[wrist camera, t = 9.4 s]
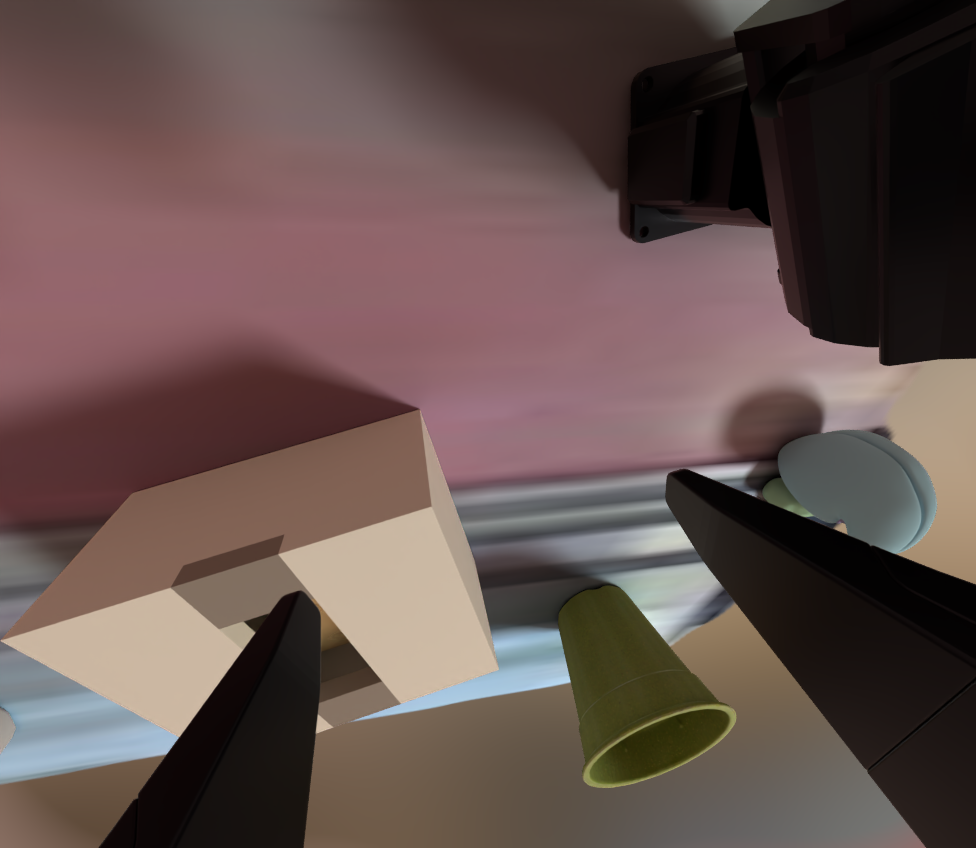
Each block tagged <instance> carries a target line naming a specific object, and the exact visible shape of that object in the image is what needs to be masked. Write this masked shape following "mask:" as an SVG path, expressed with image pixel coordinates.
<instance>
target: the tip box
mask: <svg viewBox="0 0 976 848" xmlns="http://www.w3.org/2000/svg"><path fill="white" fill-rule="evenodd" d="M298 590H302V591H304V592H305V593H306V594H307V595H308V596H309V598H310V599H311V600H312V599H315V600H316V601H317V602H318V604H319V605H320V606H321V607H322V608H323V610H324V611H325V612H326V613H327V615H328V616H329V617H330V618H331V619H332V621H333V622H334V623H335V624H336V625H337V627H338V628H339V629H340V630H341V632H342V633H343V634H344V635H345V636H346V638H347V639H348V640H349V641H350V643H347V644H344V645H341V646H338V647H335V648H332V649H328V650H325V651H321V686H320V699H319V709H318V718H317V727H316V733H318V732H321V731H324V730H327V729H330V728H333V727H336V726H338V725H341V724H344V723H347V722H350V721H353V720H356V719H359V718H361V717H364V716H367V715H370V714H373V713H376V712H379V711H382V710H384V709H387V708H390V707H393V706H396V705H399V704H402V703H405V702H407V701H410V700H413V699H416V698H419V697H422V696H425V695H428V694H430V693H433V692H436V691H439V690H442V689H445V688H448V687H451V686H453V685H456V684H459V683H462V682H465V681H468V680H471V679H474V678H476V677H479V676H482V675H485V674H488V673H491V672H494V671H497V670H499V668H498V663H497V659H496V654H495V650H494V645H493V641H492V636H491V632H490V627H489V623H488V618H487V614H486V609H485V605H484V600H483V596H482V592H481V587H480V583H479V578H478V574H477V569H476V565H475V560H474V557H473V555H472V552H471V549H470V546H469V544H468V541H467V538H466V535H465V533H464V530H463V527H462V524H461V522H460V519H459V516H458V513H457V511H456V508H455V505H454V502H453V500H452V497H451V494H450V491H449V488H448V486H447V483H446V480H445V477H444V475H443V472H442V469H441V466H440V464H439V461H438V458H437V455H436V453H435V450H434V447H433V444H432V442H431V439H430V436H429V433H428V431H427V428H426V425H425V422H424V420H423V417H422V414H421V411H420V409H419V410H416V411H412V412H409V413H405V414H402V415H399V416H395V417H392V418H388V419H385V420H381V421H378V422H375V423H371V424H368V425H364V426H361V427H357V428H354V429H350V430H347V431H344V432H340V433H337V434H333V435H330V436H326V437H323V438H320V439H316V440H313V441H309V442H306V443H302V444H299V445H296V446H292V447H289V448H285V449H282V450H278V451H275V452H272V453H268V454H265V455H261V456H258V457H254V458H251V459H247V460H244V461H241V462H237V463H234V464H230V465H227V466H223V467H220V468H217V469H213V470H210V471H206V472H203V473H199V474H196V475H193V476H189V477H186V478H182V479H179V480H175V481H172V482H169V483H165V484H162V485H158V486H155V487H151V488H148V489H145V490H141V491H138V492H134V493H132V494H131V495H130V496H129V497H128V498H127V500H126V501H125V502H124V503H123V504H122V505H121V506H120V507H119V508H118V510H117V511H116V512H115V513H114V514H113V515H112V516H111V517H110V519H109V520H108V521H107V522H106V523H105V524H104V525H103V526H102V527H101V529H100V530H99V531H98V532H97V533H96V534H95V535H94V536H93V538H92V539H91V540H90V541H89V542H88V543H87V544H86V545H85V546H84V548H83V549H82V550H81V551H80V552H79V553H78V554H77V555H76V557H75V558H74V559H73V560H72V561H71V562H70V563H69V564H68V566H67V567H66V568H65V569H64V570H63V571H62V572H61V573H60V574H59V576H58V577H57V578H56V579H55V580H54V581H53V582H52V583H51V585H50V586H49V587H48V588H47V589H46V590H45V591H44V592H43V593H42V595H41V596H40V597H39V598H38V599H37V600H36V601H35V602H34V604H33V605H32V606H31V607H30V608H29V609H28V610H27V611H26V612H25V614H24V615H23V616H22V617H21V618H20V619H19V620H18V621H17V623H16V624H15V625H14V626H13V627H12V628H11V629H10V630H9V631H8V633H7V634H6V635H5V636H4V637H3V638H2V639H1V640H0V641H2V642H3V643H5V644H7V645H9V646H11V647H13V648H15V649H16V650H18V651H20V652H22V653H24V654H26V655H27V656H29V657H31V658H33V659H35V660H37V661H39V662H40V663H42V664H44V665H46V666H48V667H50V668H52V669H53V670H55V671H57V672H59V673H61V674H63V675H65V676H66V677H68V678H70V679H72V680H74V681H76V682H78V683H79V684H81V685H83V686H85V687H87V688H89V689H91V690H92V691H94V692H96V693H98V694H100V695H102V696H104V697H105V698H107V699H109V700H111V701H113V702H115V703H117V704H118V705H120V706H122V707H124V708H126V709H128V710H130V711H131V712H133V713H135V714H137V715H139V716H141V717H143V718H144V719H146V720H148V721H150V722H152V723H154V724H156V725H157V726H159V727H161V728H163V729H165V730H167V731H169V732H170V733H172V734H174V735H176V736H178V737H180V736H181V734H182V733H183V731H184V730H185V729H186V727H187V726H188V725H189V723H190V722H191V720H192V719H193V718H194V716H195V715H196V714H197V712H198V711H199V709H200V708H201V707H202V705H203V704H204V703H205V701H206V700H207V698H208V697H209V696H210V694H211V693H212V692H213V690H214V689H215V687H216V686H217V685H218V683H219V682H220V681H221V679H222V678H223V676H224V675H225V674H226V672H227V671H228V670H229V668H230V667H231V665H232V664H233V663H234V661H235V660H236V659H237V657H238V656H239V654H240V653H241V652H242V650H243V649H244V648H245V646H246V645H247V643H248V642H249V641H250V639H251V638H252V637H253V635H254V634H255V632H256V631H257V630H258V628H259V627H260V626H261V624H262V623H263V622H264V620H265V619H266V617H267V616H268V615H269V613H270V612H271V611H272V609H273V608H274V606H275V605H276V604H277V602H278V601H279V600H280V598H281V597H282V596H284V595H286V594H289V593H292V592H295V591H298Z"/></svg>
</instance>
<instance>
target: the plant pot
mask: <svg viewBox="0 0 976 848" xmlns="http://www.w3.org/2000/svg"><path fill="white" fill-rule="evenodd" d="M558 627H559V632H560V636H561V640H562V645H563V649H564V654H565V658H566V663H567V667H568V672H569V676H570V680H571V685H572V689H573V694H574V699H575V703H576V708H577V712H578V717H579V722H580V725H579V732H580V736H581V742H582V747H583V752H584V758H585V765H584V767H583V770H582V776H583V780H584V781H585V782H586V783H587V784H588V785H590V786H594V787H600V788H609V787H618V786H624V785H629V784H632V783H636V782H640V781H644V780H646V779H649V778H653V777H655V776H658V775H660V774H663V773H666V772H668V771H670V770H673V769H675V768H677V767H679V766H681V765H683V764H685V763H687V762H689V761H691V760H692V759H694V758H695V757H697V756H699V755H701V754H702V753H704V752H706V751H707V750H709V749H710V748H711V747H713V746H714V745H715V744H717V743H718V742H719V741H720V740H721V739H723V738H724V736H725V735H726V734H727V733H728V732H729V731H730V730H731V729H732V727H733V726H734V724H735V721H736V713H735V711H734V710H733V709H732V708H731V707H730V706H729V705H727V704H725V703H721V702H719V701H718V700H717V699H716V698H715V697H714V695H713V694H712V693H711V692H710V691H709V690H708V689H707V687H706V686H705V685H704V684H703V683H702V681H701V680H700V679H699V678H698V677H697V676H696V675H694V674H693V673H691V672H690V671H689V669H688V668H687V667H686V666H685V665H684V663H683V662H682V661H681V660H680V659H679V658H678V656H677V655H676V654H675V653H674V652H673V650H672V649H671V648H670V647H669V645H668V644H667V643H666V642H665V640H664V639H663V638H662V637H661V636H660V634H659V633H658V632H657V631H656V629H655V628H654V627H653V626H652V625H651V623H650V622H649V621H648V620H647V618H646V617H645V616H644V615H643V614H642V612H641V611H640V610H639V609H638V607H637V606H636V605H635V604H634V602H633V601H632V600H631V599H630V598H629V596H628V595H627V594H626V593H625V592H624V591H623V590H622V589H620V588H618V587H615V586H602V587H601V588H600V589H596V590H585V591H583V592H581V593H579V594H577V595H576V596H574V597H573V598H572V599H570V600H569V601H568V602H567V603H566V604H565V605H564V606H563V607H562V609H561V610H560V613H559V619H558Z"/></svg>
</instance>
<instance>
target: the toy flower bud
mask: <svg viewBox="0 0 976 848" xmlns="http://www.w3.org/2000/svg"><path fill="white" fill-rule="evenodd" d="M778 467H779V472H780V475H781V477H782V478H775V479H772V480H771V481H769V482H768V483H767V484H766V485H765V486H764V488H763V496H764V498H765V499H766V500H767V501H768V502H769V503H771V504H774V505H776V506H779V507H781V508H784V509H786V510H788V511H791V512H793V513H796V514H798V515H801V516H803V517H809V516H815V517H817V518H819V519H821V520H823V521H825V522H829V523H845V524H846V528H847V533H848V535H850V536H852V537H855V538H857V539H859V540H862V541H864V542H867V543H868V544H869V545H870V546H871V545H874V546H877V547H879V548H882V549H884V550H887V551H889V552H892V553H894V554H897V553H900V552H903V551H905V550H907V549H909V548H911V547H912V546H914V545H915V544H916V543H918V542H919V541H920V540H921V539H922V538H923V537H924V535H925V534H926V533H927V531H928V530H929V528H930V527H931V524H932V522H933V520H934V517H935V514H936V509H937V500H936V494H935V491H934V487H933V484H932V482H931V479H930V477H929V475H928V473H927V472H926V470H925V469H924V467H923V466H922V465H921V464H920V463H919V462H918V461H917V460H916V459H915V458H914V457H913V456H912V455H911V454H909V453H908V452H907V451H905V450H904V449H903V448H901V447H900V446H898V445H896V444H895V443H893V442H892V441H890V440H888V439H886V438H884V437H882V436H880V435H877V434H874V433H871V432H867V431H861V430H840V431H832V432H827V433H821V434H813V435H808V436H804V437H801V438H798V439H795V440H793V441H791V442H789V443H788V444H786V445H785V446H784V447H783V448H782V449H781V450H780V452H779V454H778Z"/></svg>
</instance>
